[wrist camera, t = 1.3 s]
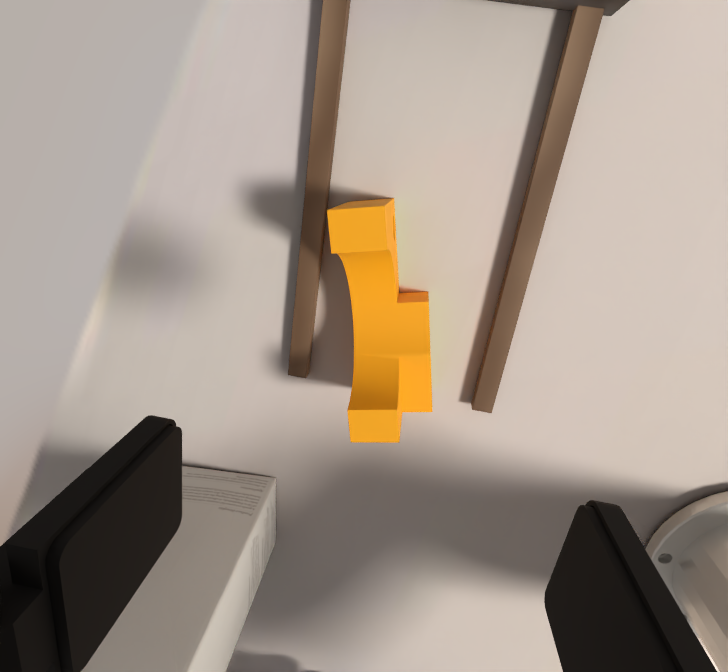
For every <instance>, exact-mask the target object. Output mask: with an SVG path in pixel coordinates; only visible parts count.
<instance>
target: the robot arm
mask: <svg viewBox="0 0 728 672" xmlns="http://www.w3.org/2000/svg"><path fill="white" fill-rule="evenodd" d="M181 519H182V430H181V428H180V427H176V423H175V421H174V420H172V419H167V418H162V417H157V416H152V415H150V416H147V417H146V418H144V419H143V420H142V421H141V422H140V423H139V424H138V425H137V426H135V427H134V428H133V429H132V430H131V431H130V432H129V433H128V434H127V435H125V436H124V437H123V438H122V439H121V440H120V441H119V442H118V443H116V444H115V445H114V446H113V447H112V448H111V449H110V450H109V451H108V452H106V453H105V454H104V455H103V456H102V457H101V458H100V459H99V460H97V461H96V462H95V463H94V464H93V465H92V466H91V467H89V468H88V469H87V470H85V471H84V472H83V473H82V474H81V475H80V476H79V477H78V478H77V479H75V480H74V481H73V482H72V483H71V484H70V485H69V486H68V487H66V488H65V489H64V490H63V491H62V492H61V493H60V494H59V495H57V496H56V497H55V498H54V499H53V500H52V501H51V502H50V503H49V504H47V505H46V506H45V507H44V508H43V509H42V510H41V511H40V512H38V513H37V514H36V515H35V516H34V517H33V518H32V519H31V520H29V521H28V522H27V523H26V524H25V525H24V526H23V527H22V528H21V529H19V530H18V531H17V532H16V533H15V534H14V535H13V536H12V537H10V538H9V539H8V540H7V541H6V542H5V543H4V544H3V545H2V546H0V672H81V671H82V670H83V669H84V667H85V666H86V665H87V663H88V662H89V660H90V659H91V657H92V656H93V655H94V653H95V652H96V650H97V649H98V647H99V646H100V644H101V643H102V641H103V640H104V638H105V637H106V635H107V634H108V632H109V631H110V629H111V628H112V627H113V625H114V624H115V622H116V621H117V619H118V618H119V616H120V615H121V613H122V612H123V610H124V609H125V607H126V606H127V604H128V603H129V601H130V600H131V598H132V597H133V596H134V594H135V593H136V591H137V590H138V588H139V587H140V585H141V584H142V582H143V581H144V579H145V578H146V576H147V575H148V573H149V572H150V570H151V569H152V568H153V566H154V565H155V563H156V562H157V560H158V559H159V557H160V556H161V554H162V553H163V551H164V550H165V548H166V547H167V545H168V544H169V542H170V541H171V539H172V538H173V537H174V535H175V534H176V532H177V530H178V528H179V526H180V523H181ZM545 608H546V612H547V616H548V620H549V623H550V627H551V630H552V634H553V637H554V641H555V644H556V648H557V652H558V655H559V659H560V662H561V666H562V669H563V672H717V671H716V669H715V667H714V666H713V664H712V662H711V661H710V659H709V657H708V656H707V654H706V652H705V650H704V649H703V647H702V645H701V644H700V642H699V640H698V638H697V637H699V638H700V639H701V640H702V642H703V644H704V645H705V647H706V649H707V650H708V652H709V654H710V655H711V657H712V659H713V661H714V662H715V664H716V666H717V667H718V669H719V671H720V672H728V491H726V492H722V493H718V494H714V495H711V496H708V497H706V498H703V499H701V500H698V501H696V502H693V503H692V504H690V505H688V506H686V507H685V508H683V509H681V510H680V511H678V512H676V513H675V514H674V515H673V516H672V517H670V518H669V519H668V520H667V521H665V522H664V523H663V524H662V525H661V526H660V528H659V529H658V530H657V531H656V532H655V533H654V535H653V536H652V538H651V539H650V541H649V543H648V545H647V547H646V549H645V548H644V547H643V545H642V543H641V541H640V540H639V538H638V536H637V535H636V533H635V531H634V529H633V528H632V526H631V524H630V523H629V521H628V519H627V518H626V516H625V514H624V512H623V511H622V509H621V508H620V507H619V506H617V505H614V504H609V503H604V502H598V501H593V500H591V501H589V502H587V504H586V506H584V505H580V506H579V507H578V509H577V511H576V514H575V516H574V519H573V521H572V524H571V527H570V529H569V532H568V534H567V537H566V539H565V542H564V545H563V547H562V550H561V552H560V555H559V557H558V560H557V563H556V565H555V568H554V570H553V573H552V575H551V578H550V581H549V583H548V586H547V588H546V591H545Z"/></svg>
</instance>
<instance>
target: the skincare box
mask: <svg viewBox="0 0 728 672" xmlns="http://www.w3.org/2000/svg"><path fill="white" fill-rule="evenodd" d="M275 542H276V478H273V477H264V476H257V475H249V474H241V473H233V472H226V471H218V470H211V469H203V468H195V467H187V466H182V519H181V523H180V526H179V528H178V530H177V532H176V534H175V535H174V537H173V538H172V539H171V541H170V542H169V544H168V545H167V547H166V548H165V550H164V551H163V553H162V554H161V556H160V557H159V559H158V560H157V562H156V563H155V565H154V566H153V568H152V569H151V570H150V572H149V573H148V575H147V576H146V578H145V579H144V581H143V582H142V584H141V585H140V587H139V588H138V590H137V591H136V593H135V594H134V596H133V597H132V598H131V600H130V601H129V603H128V604H127V606H126V607H125V609H124V610H123V612H122V613H121V615H120V616H119V618H118V619H117V621H116V622H115V624H114V625H113V627H112V628H111V629H110V631H109V632H108V634H107V635H106V637H105V638H104V640H103V641H102V643H101V644H100V646H99V647H98V649H97V650H96V652H95V653H94V655H93V656H92V657H91V659H90V660H89V662H88V663H87V665H86V666H85V667H84V669H83V670H82V671H81V672H226V670H227V667H228V665H229V662H230V659H231V657H232V654H233V651H234V649H235V646H236V644H237V641H238V638H239V636H240V633H241V631H242V628H243V626H244V623H245V620H246V618H247V615H248V613H249V610H250V607H251V605H252V602H253V600H254V597H255V594H256V592H257V589H258V587H259V584H260V581H261V579H262V576H263V574H264V571H265V568H266V566H267V563H268V560H269V558H270V555H271V553H272V550H273V548H274V545H275Z"/></svg>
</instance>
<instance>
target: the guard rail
mask: <svg viewBox="0 0 728 672" xmlns="http://www.w3.org/2000/svg"><path fill="white" fill-rule="evenodd" d="M490 1H498V2H506V3H514V4H522V5H530V6H537V7H545V8H553V9H561V10H569V11H573V13H572V17H571V20H570V24H569V28H568V32H567V36H566V40H565V44H564V47H563V51H562V55H561V59H560V63H559V67H558V71H557V74H556V78H555V82H554V86H553V90H552V94H551V98H550V101H549V105H548V109H547V113H546V117H545V121H544V125H543V128H542V132H541V136H540V140H539V144H538V148H537V152H536V155H535V159H534V163H533V167H532V171H531V175H530V179H529V183H528V186H527V190H526V194H525V198H524V202H523V206H522V210H521V213H520V217H519V221H518V225H517V229H516V233H515V237H514V240H513V244H512V248H511V252H510V256H509V260H508V264H507V267H506V271H505V275H504V279H503V283H502V287H501V291H500V294H499V298H498V302H497V306H496V310H495V314H494V318H493V321H492V325H491V329H490V333H489V337H488V341H487V345H486V348H485V352H484V356H483V360H482V364H481V368H480V372H479V375H478V379H477V383H476V387H475V391H474V395H473V399H472V403H471V405H472V410H477V411H483V412H488V413H492V409H493V406H494V402H495V399H496V395H497V392H498V388H499V384H500V381H501V377H502V374H503V370H504V367H505V363H506V359H507V356H508V352H509V349H510V345H511V341H512V338H513V334H514V331H515V327H516V324H517V320H518V316H519V313H520V309H521V306H522V302H523V299H524V295H525V291H526V288H527V284H528V281H529V277H530V273H531V270H532V266H533V263H534V259H535V256H536V252H537V248H538V245H539V241H540V238H541V234H542V231H543V227H544V223H545V220H546V216H547V213H548V209H549V206H550V202H551V198H552V195H553V191H554V188H555V184H556V180H557V177H558V173H559V170H560V166H561V163H562V159H563V155H564V152H565V148H566V145H567V141H568V138H569V134H570V130H571V127H572V123H573V120H574V116H575V112H576V109H577V105H578V102H579V98H580V95H581V91H582V87H583V84H584V80H585V77H586V73H587V70H588V66H589V62H590V59H591V55H592V52H593V48H594V45H595V41H596V37H597V34H598V30H599V27H600V23H601V19H602V16H603V15H608V16H612V15H613V14H614V13H615V12H616V11H618V10H619V9H620V8H621V7H622V6H624V5H625V4H626V3H627V2H628V1H629V0H490ZM349 9H350V0H323V5H322V16H321V27H320V37H319V48H318V59H317V70H316V80H315V91H314V102H313V112H312V123H311V134H310V144H309V155H308V166H307V177H306V187H305V198H304V209H303V219H302V230H301V241H300V251H299V262H298V273H297V284H296V294H295V305H294V316H293V326H292V337H291V348H290V358H289V369H288V375H292V376H297V377H302V378H306V377H307V376H308V374H309V368H310V359H311V350H312V341H313V332H314V323H315V314H316V305H317V296H318V287H319V278H320V269H321V260H322V251H323V242H324V233H325V224H326V215H327V206H328V197H329V188H330V179H331V170H332V161H333V152H334V143H335V135H336V126H337V117H338V108H339V99H340V90H341V81H342V72H343V63H344V54H345V45H346V36H347V27H348V18H349Z"/></svg>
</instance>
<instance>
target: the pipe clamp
mask: <svg viewBox="0 0 728 672" xmlns="http://www.w3.org/2000/svg"><path fill="white" fill-rule="evenodd" d="M327 216H328V225H329V235H330V245H331V254H333V253H337V254H338V255H339V256H340V258H341V260H342V262H343V265H344V268H345V271H346V275H347V279H348V284H349V290H350V296H351V304H352V314H353V328H354V370H353V383H352V391H351V397H350V402H349V406H348V410H347V411H348V420H349V430H350V440H351V442H399V440H400V429H401V419H402V412H432V387H431V357H430V327H429V297H428V292H410V293H399V280H398V262H397V244H396V226H395V208H394V198H389V199H376V200H363V201H350V202H347V203H344V204H342V205H339V206H336V207H334V208H331V209H329V210H327Z"/></svg>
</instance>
